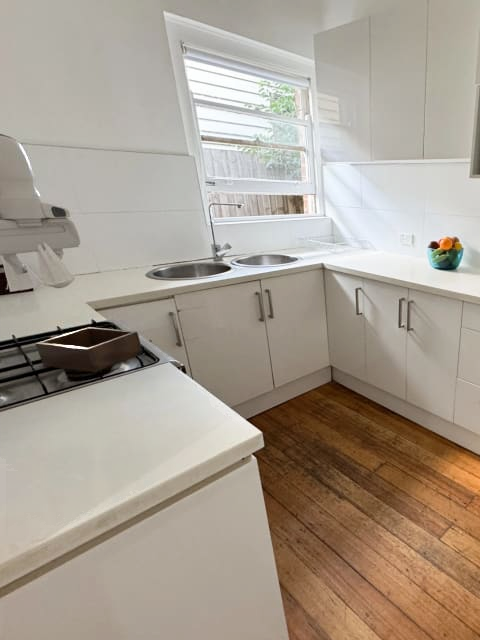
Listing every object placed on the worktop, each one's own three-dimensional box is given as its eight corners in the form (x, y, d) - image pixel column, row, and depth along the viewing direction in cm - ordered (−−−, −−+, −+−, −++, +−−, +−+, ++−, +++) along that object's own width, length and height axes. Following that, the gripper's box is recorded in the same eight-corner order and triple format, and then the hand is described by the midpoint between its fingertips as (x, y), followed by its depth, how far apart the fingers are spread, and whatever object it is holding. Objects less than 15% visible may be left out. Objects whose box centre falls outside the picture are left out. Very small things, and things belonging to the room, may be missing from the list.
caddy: (95, 372, 88) (87, 349, 86) (43, 365, 91) (35, 343, 89) (143, 352, 99) (137, 331, 97) (95, 347, 103) (89, 326, 100)
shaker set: (78, 285, 98) (65, 241, 94) (72, 288, 95) (58, 242, 91) (17, 288, 94) (1, 242, 90) (9, 292, 90) (-9, 244, 86)
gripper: (-29, 212, 78) (-3, 279, 83) (75, 209, 96) (91, 264, 101) (-50, 211, 79) (-24, 277, 84) (56, 209, 98) (73, 263, 103)
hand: (40, 270), depth 93 cm, fingers closed on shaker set, 6 cm apart
